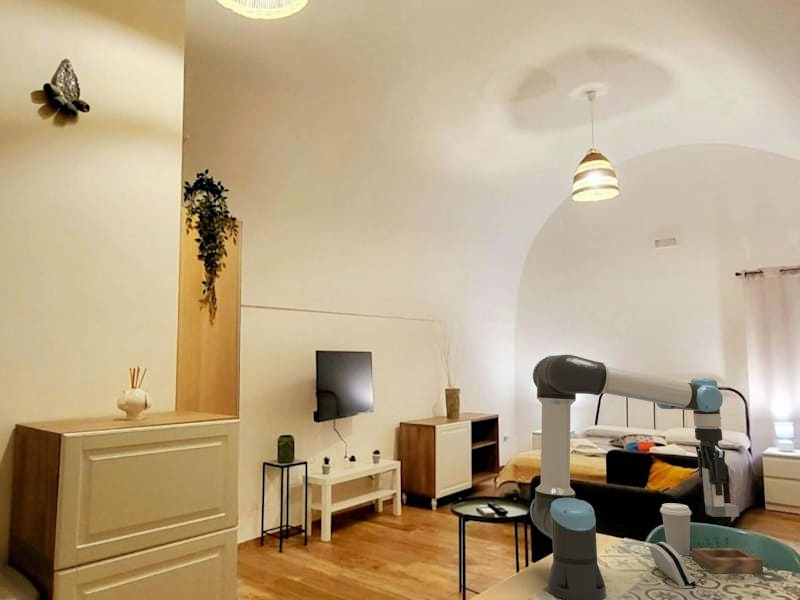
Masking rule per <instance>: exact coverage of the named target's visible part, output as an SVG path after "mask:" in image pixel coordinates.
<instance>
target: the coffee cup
mask: <svg viewBox="0 0 800 600" xmlns="http://www.w3.org/2000/svg"><path fill="white" fill-rule="evenodd" d="M659 512H660V513H661V516H662V522H663V523H662V524H663V528H664V535H665V541H666V542H665V543H667V544H668V545H670V546H671V547H672V548H673V549H674V550H675V551H676V552H677V553H678V554H679V555H688V554H691V515H692V514H693V512H692V511H691V509H690V508H689V506H688V505H686V504H682V503H673V502H670V503H669V502H668V503H663V504H661V507H660V509H659ZM688 556H689V555H688Z"/></svg>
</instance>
